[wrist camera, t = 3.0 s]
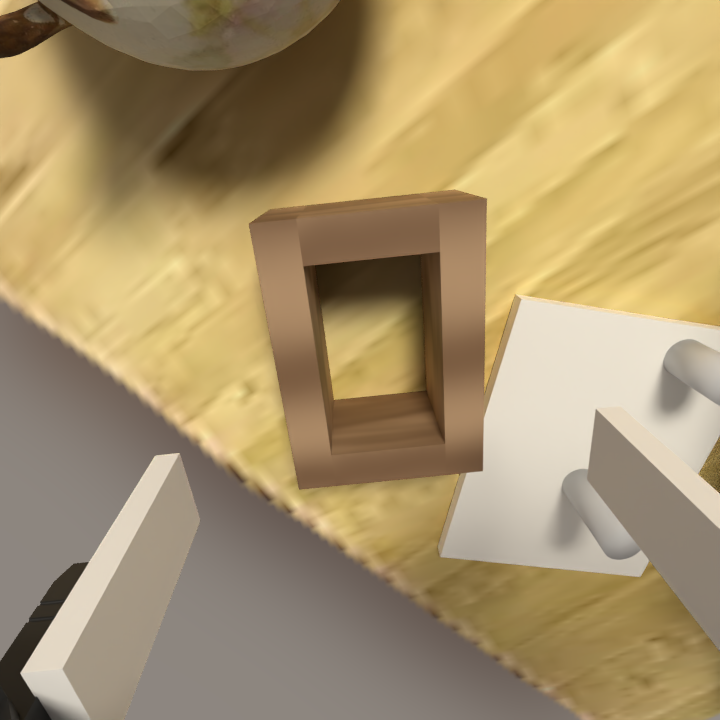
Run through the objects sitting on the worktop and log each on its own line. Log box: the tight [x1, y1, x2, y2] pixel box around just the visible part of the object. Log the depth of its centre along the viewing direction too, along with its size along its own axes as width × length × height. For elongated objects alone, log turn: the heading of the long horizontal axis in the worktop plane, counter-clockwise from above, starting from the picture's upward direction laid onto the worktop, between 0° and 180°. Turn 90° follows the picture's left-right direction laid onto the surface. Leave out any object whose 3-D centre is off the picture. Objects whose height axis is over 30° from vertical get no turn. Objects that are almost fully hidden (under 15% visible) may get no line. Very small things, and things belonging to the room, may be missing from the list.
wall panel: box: [438, 294, 720, 577], centre depth 29 cm, size 20×16×6 cm
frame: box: [249, 190, 487, 489], centre depth 25 cm, size 14×10×6 cm
